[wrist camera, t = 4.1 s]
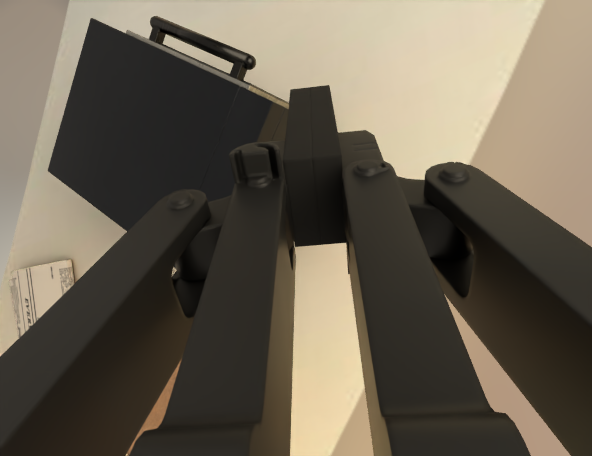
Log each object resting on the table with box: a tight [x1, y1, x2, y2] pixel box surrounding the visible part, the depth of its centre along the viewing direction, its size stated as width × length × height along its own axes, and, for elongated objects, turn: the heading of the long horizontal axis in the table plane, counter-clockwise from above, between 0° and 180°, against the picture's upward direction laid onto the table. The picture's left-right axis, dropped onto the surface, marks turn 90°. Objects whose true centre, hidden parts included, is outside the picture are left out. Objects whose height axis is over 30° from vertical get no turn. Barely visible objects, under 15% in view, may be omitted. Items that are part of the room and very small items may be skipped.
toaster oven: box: [48, 16, 289, 268], centre depth 32 cm, size 17×14×11 cm
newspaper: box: [9, 259, 74, 338], centre depth 50 cm, size 23×12×2 cm, turn 10°
